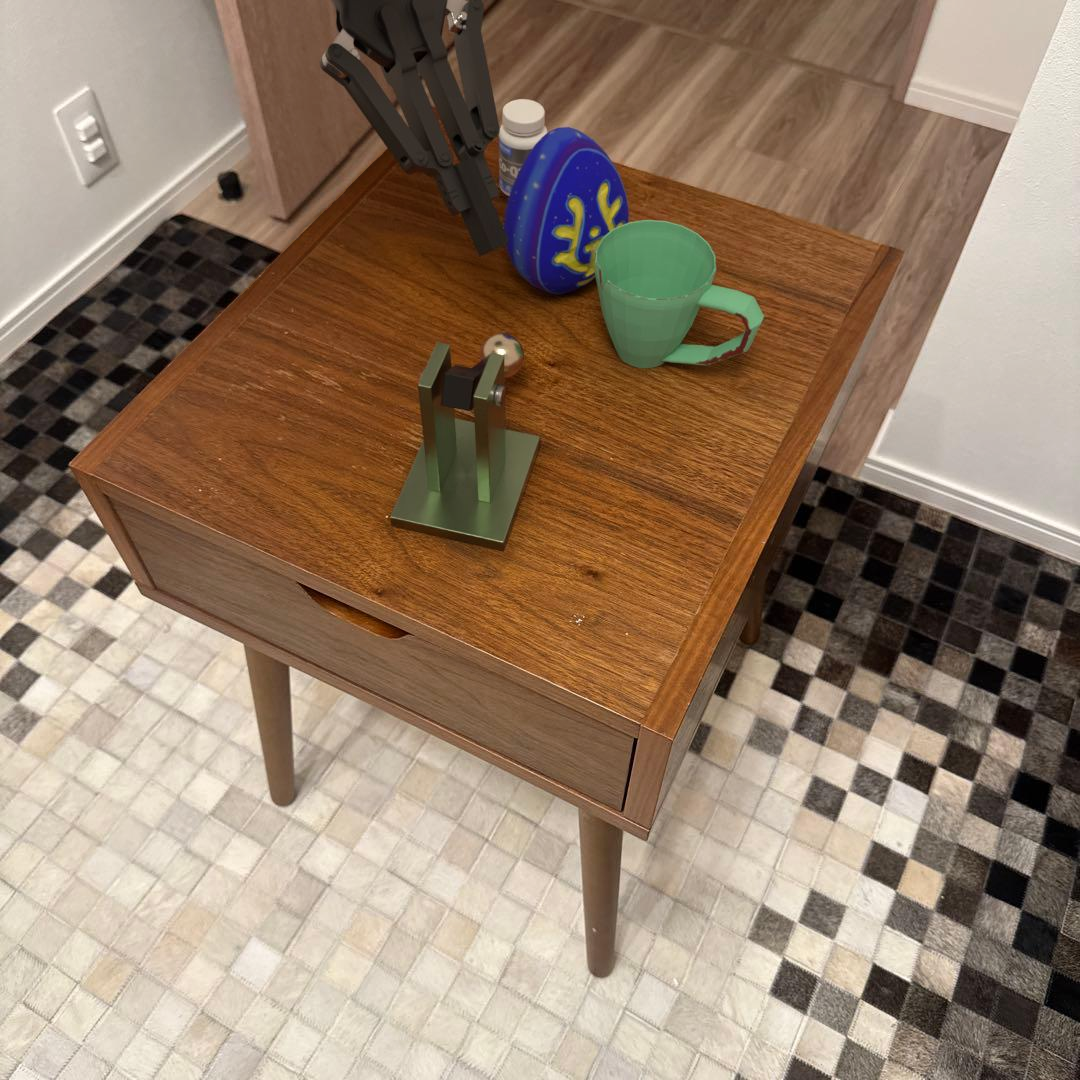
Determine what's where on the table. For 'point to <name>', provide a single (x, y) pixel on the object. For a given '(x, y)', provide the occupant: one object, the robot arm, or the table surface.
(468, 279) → the table surface
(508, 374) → the lever
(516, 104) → the pill bottle
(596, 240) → the ornament
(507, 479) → the bracket
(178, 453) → the table surface
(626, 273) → the mug
